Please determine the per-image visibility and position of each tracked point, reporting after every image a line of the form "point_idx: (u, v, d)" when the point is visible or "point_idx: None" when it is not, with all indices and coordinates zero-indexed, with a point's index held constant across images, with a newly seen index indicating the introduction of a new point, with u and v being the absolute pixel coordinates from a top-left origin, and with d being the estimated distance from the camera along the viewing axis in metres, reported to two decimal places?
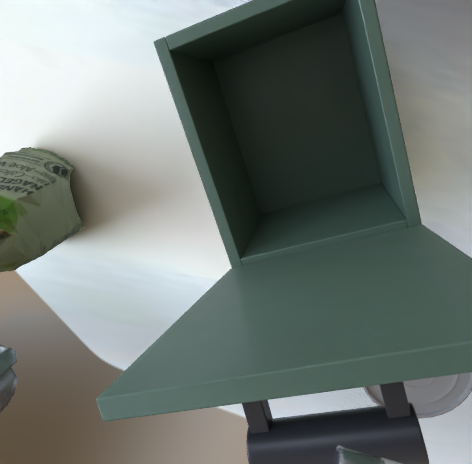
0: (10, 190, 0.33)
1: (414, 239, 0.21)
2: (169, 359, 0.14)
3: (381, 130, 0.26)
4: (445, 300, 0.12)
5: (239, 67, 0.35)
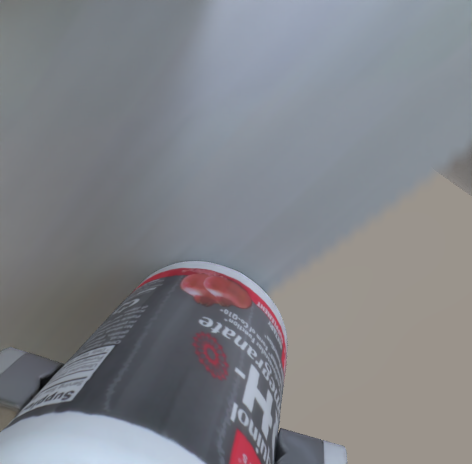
0: None
1: None
2: None
3: None
4: None
5: None
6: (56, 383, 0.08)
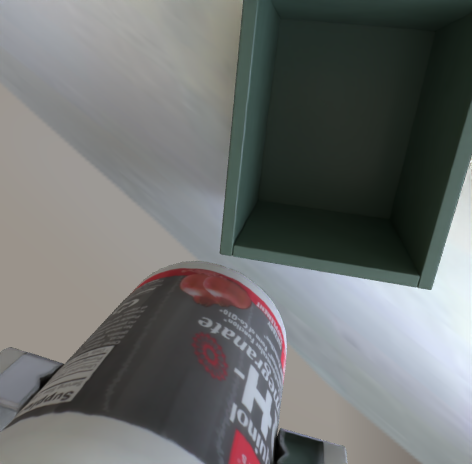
0: None
1: None
2: None
3: (255, 96, 0.24)
4: None
5: (367, 202, 0.33)
6: (55, 383, 0.08)
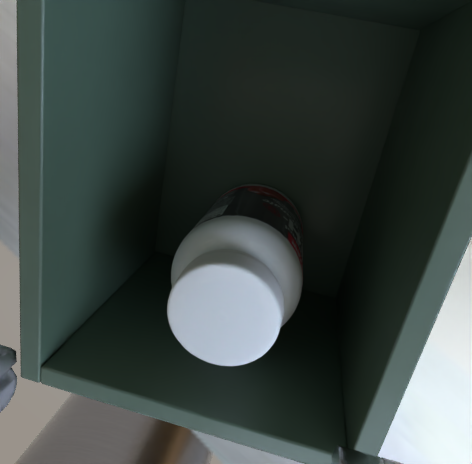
0: None
1: None
2: None
3: (90, 114, 0.14)
4: None
5: (305, 271, 0.23)
6: (207, 216, 0.17)
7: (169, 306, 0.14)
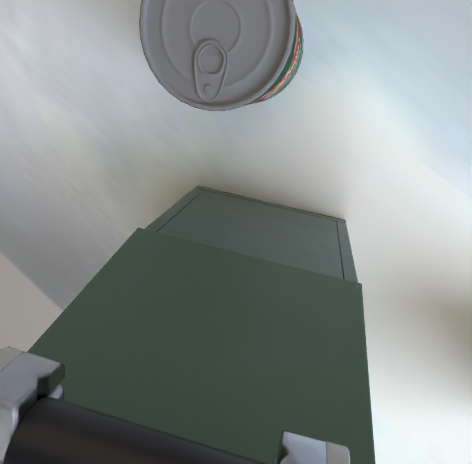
0: None
1: None
2: None
3: None
4: None
5: None
6: None
7: None
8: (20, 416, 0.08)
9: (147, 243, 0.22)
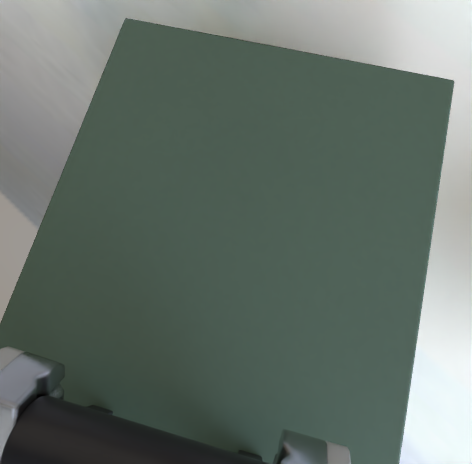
0: None
1: None
2: None
3: None
4: None
5: None
6: None
7: None
8: (19, 416, 0.08)
9: (141, 49, 0.15)
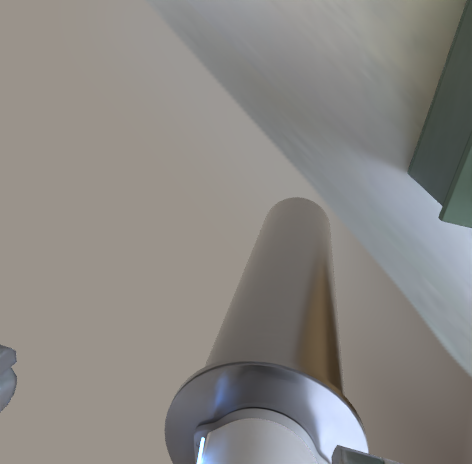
0: None
1: None
2: None
3: None
4: None
5: None
6: None
7: None
8: None
9: None
